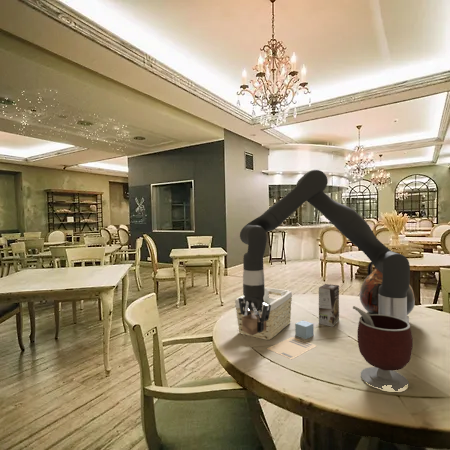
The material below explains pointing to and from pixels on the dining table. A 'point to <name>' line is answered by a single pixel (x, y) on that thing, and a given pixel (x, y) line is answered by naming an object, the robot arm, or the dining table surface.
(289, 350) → the letter
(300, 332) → the slate cube
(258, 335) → the storage basket
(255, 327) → the walnut block
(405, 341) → the mate gourd
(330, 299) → the coffee box
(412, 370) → the dining table surface
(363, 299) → the amphora vase
